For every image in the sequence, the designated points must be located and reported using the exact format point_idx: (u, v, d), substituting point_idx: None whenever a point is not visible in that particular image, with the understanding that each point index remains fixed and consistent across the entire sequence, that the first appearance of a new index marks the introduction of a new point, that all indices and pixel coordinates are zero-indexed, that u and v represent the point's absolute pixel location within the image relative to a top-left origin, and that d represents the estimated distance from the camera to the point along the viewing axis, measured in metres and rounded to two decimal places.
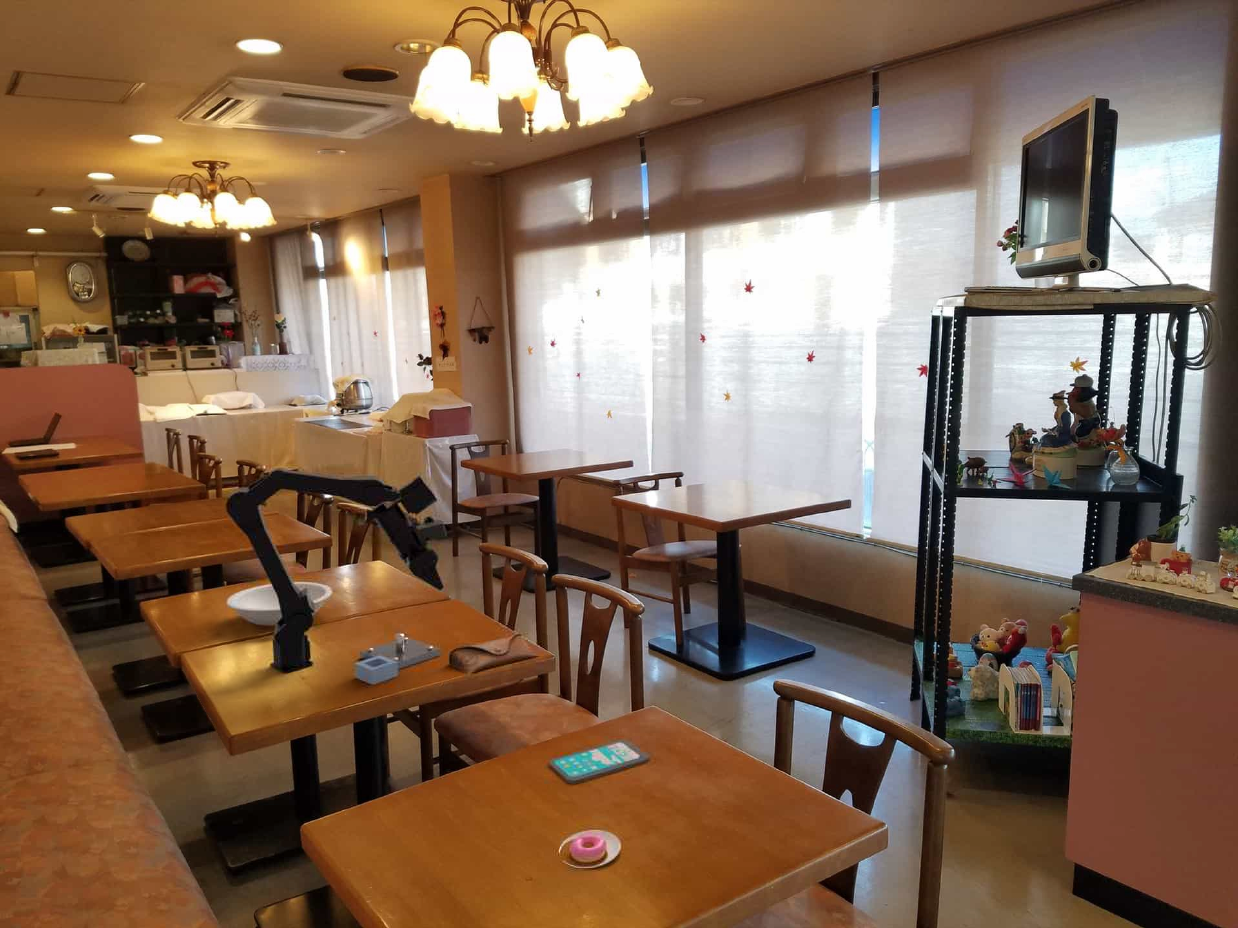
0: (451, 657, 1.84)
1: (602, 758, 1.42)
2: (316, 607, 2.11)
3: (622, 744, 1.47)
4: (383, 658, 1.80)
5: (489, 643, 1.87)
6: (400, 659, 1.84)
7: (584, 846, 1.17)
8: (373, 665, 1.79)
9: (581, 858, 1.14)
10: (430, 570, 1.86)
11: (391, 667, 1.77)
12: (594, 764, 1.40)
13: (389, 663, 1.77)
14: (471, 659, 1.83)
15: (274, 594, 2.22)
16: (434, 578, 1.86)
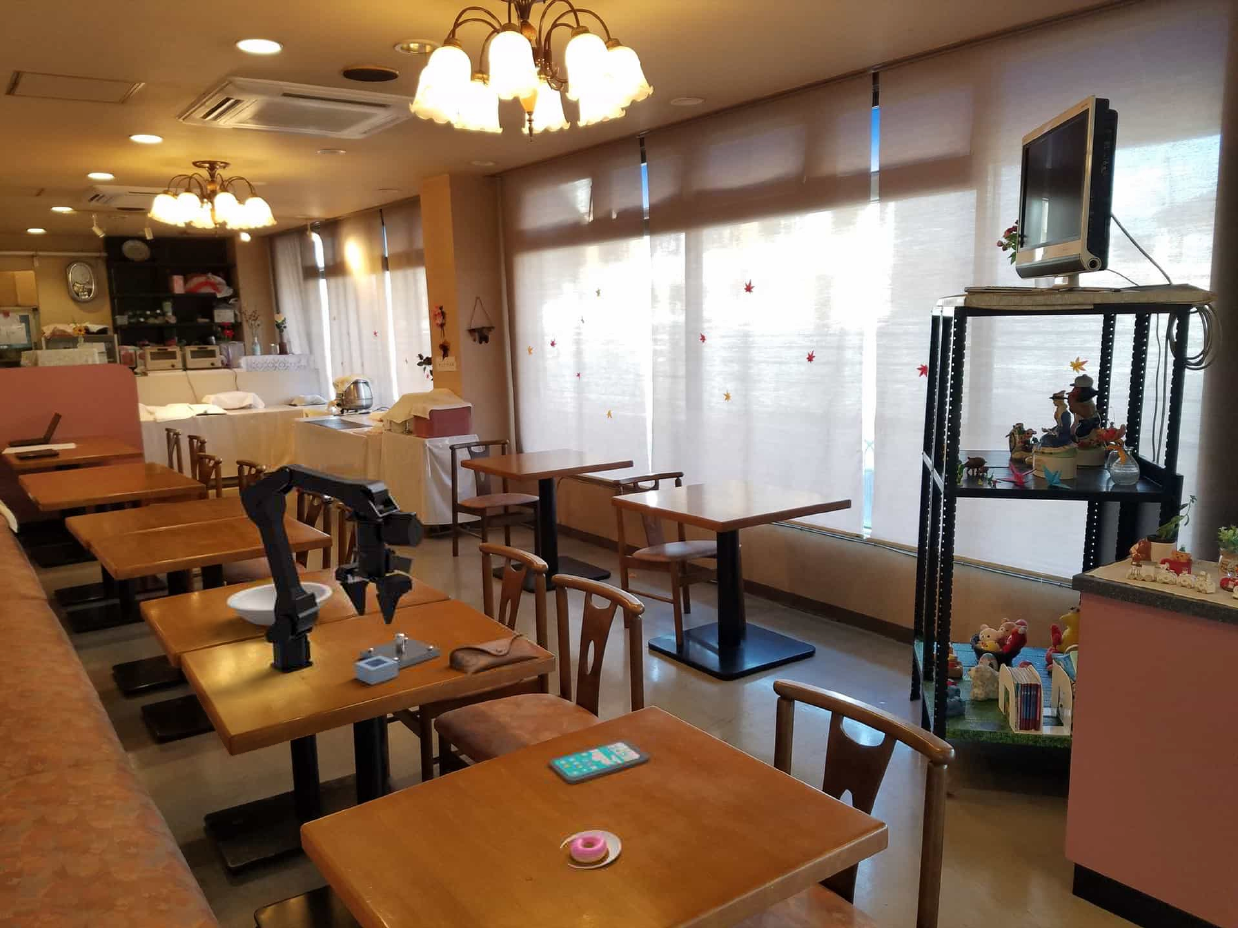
0: (452, 657, 1.84)
1: (602, 758, 1.42)
2: None
3: (622, 744, 1.47)
4: (383, 658, 1.80)
5: (490, 643, 1.87)
6: (400, 659, 1.84)
7: (584, 846, 1.17)
8: (373, 665, 1.79)
9: (581, 858, 1.14)
10: (392, 599, 1.73)
11: (391, 667, 1.77)
12: (594, 764, 1.40)
13: (389, 663, 1.77)
14: (471, 659, 1.82)
15: (274, 594, 2.22)
16: (391, 609, 1.73)
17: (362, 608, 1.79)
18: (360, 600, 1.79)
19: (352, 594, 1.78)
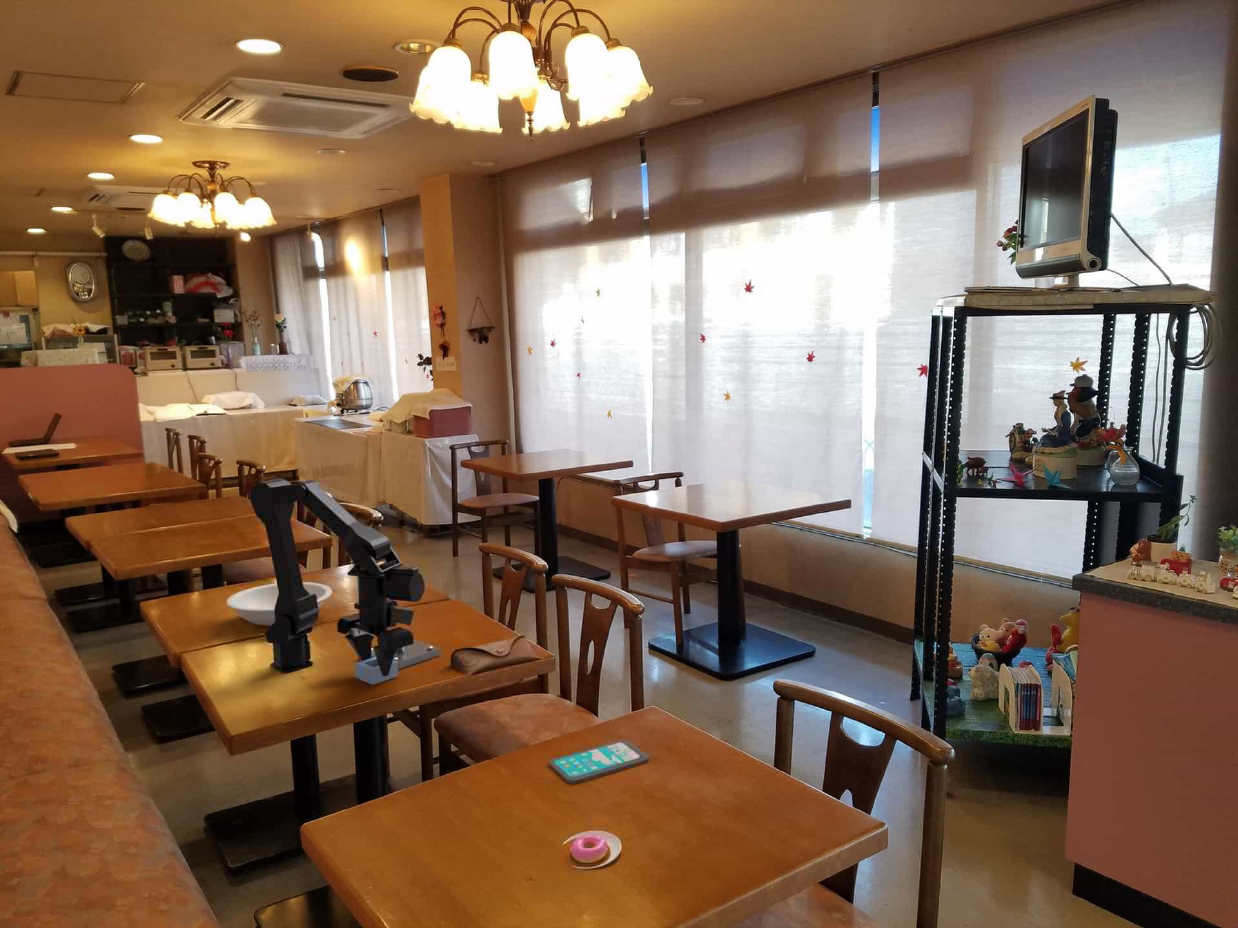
0: (453, 657, 1.84)
1: (602, 758, 1.42)
2: None
3: (622, 744, 1.47)
4: None
5: (491, 644, 1.87)
6: (400, 659, 1.84)
7: (585, 847, 1.17)
8: (373, 665, 1.79)
9: (582, 859, 1.14)
10: (389, 651, 1.75)
11: (391, 667, 1.77)
12: (594, 764, 1.40)
13: None
14: (472, 660, 1.82)
15: (274, 594, 2.22)
16: (388, 661, 1.75)
17: None
18: (366, 653, 1.80)
19: (358, 648, 1.78)
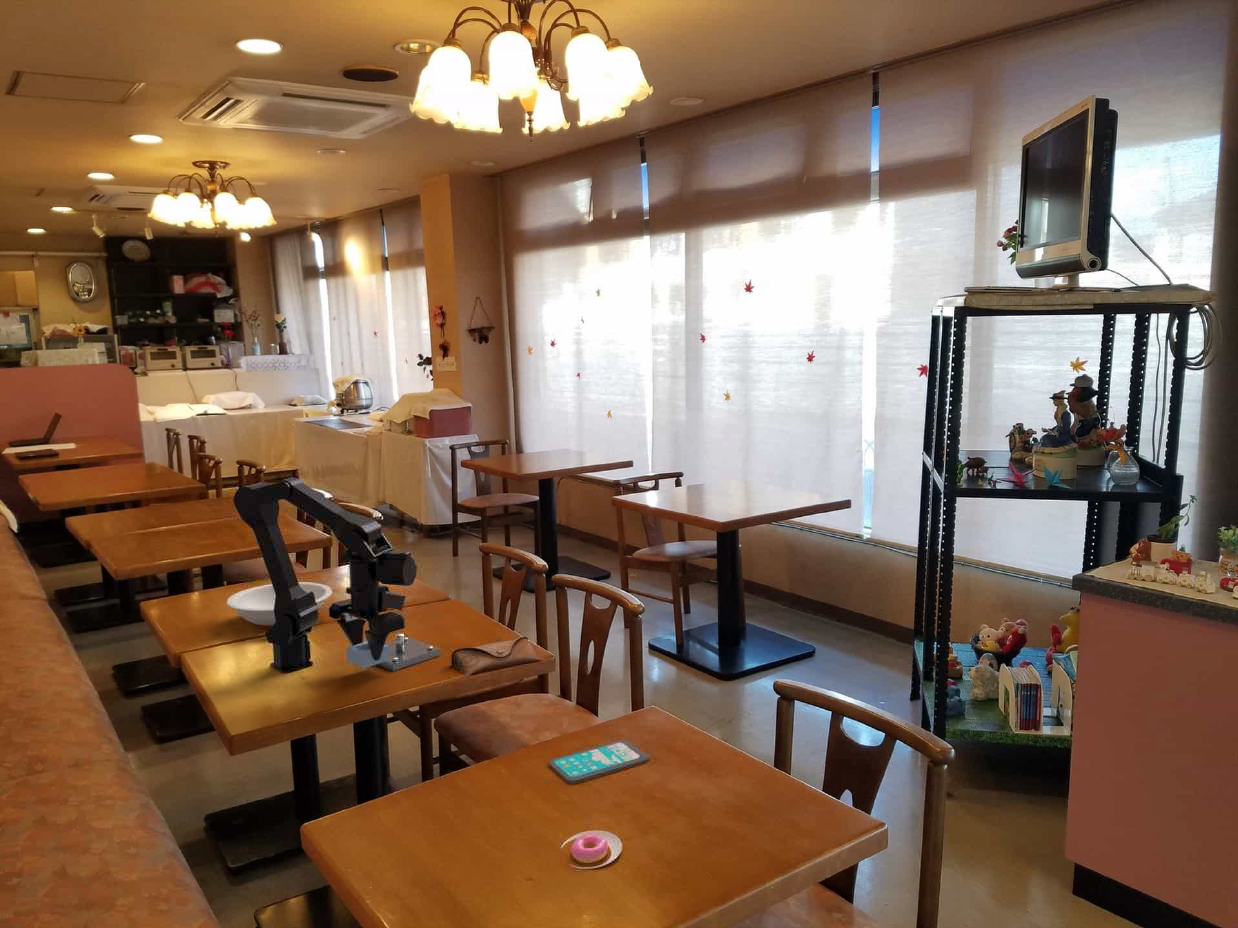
0: (453, 657, 1.84)
1: (602, 758, 1.42)
2: None
3: (623, 744, 1.47)
4: None
5: (492, 645, 1.86)
6: (400, 659, 1.84)
7: (585, 846, 1.17)
8: (365, 649, 1.81)
9: (582, 858, 1.14)
10: (380, 636, 1.76)
11: (382, 651, 1.79)
12: (594, 764, 1.40)
13: None
14: (471, 660, 1.82)
15: (274, 594, 2.22)
16: (379, 646, 1.76)
17: None
18: (358, 637, 1.81)
19: (349, 632, 1.80)
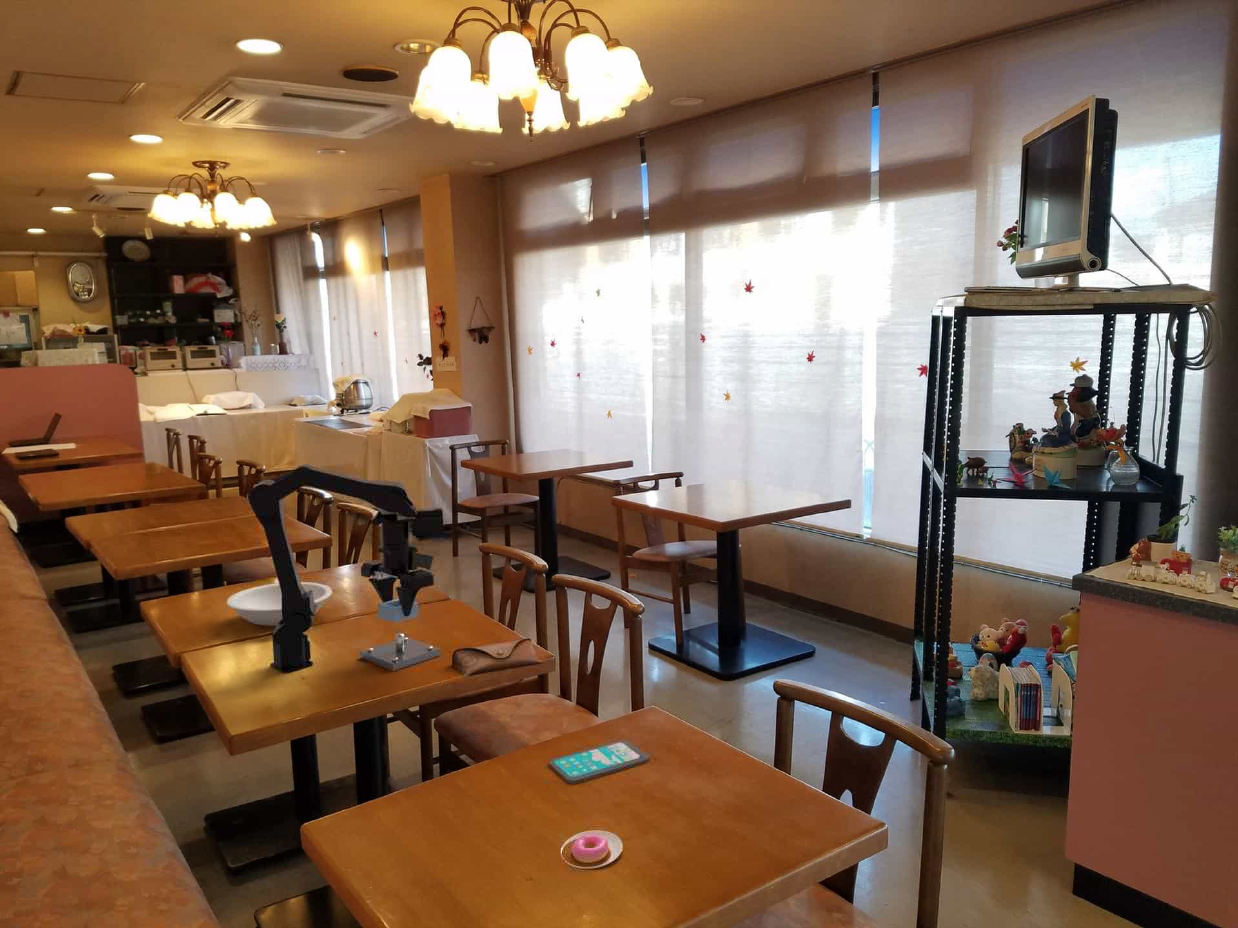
0: (454, 657, 1.84)
1: (602, 758, 1.42)
2: None
3: (623, 744, 1.47)
4: None
5: (493, 646, 1.86)
6: (400, 659, 1.84)
7: (586, 846, 1.17)
8: (395, 606, 1.90)
9: (583, 858, 1.14)
10: (410, 593, 1.85)
11: (412, 607, 1.87)
12: (594, 764, 1.40)
13: None
14: (471, 660, 1.82)
15: (274, 594, 2.22)
16: (409, 602, 1.85)
17: None
18: (388, 595, 1.90)
19: (381, 590, 1.88)
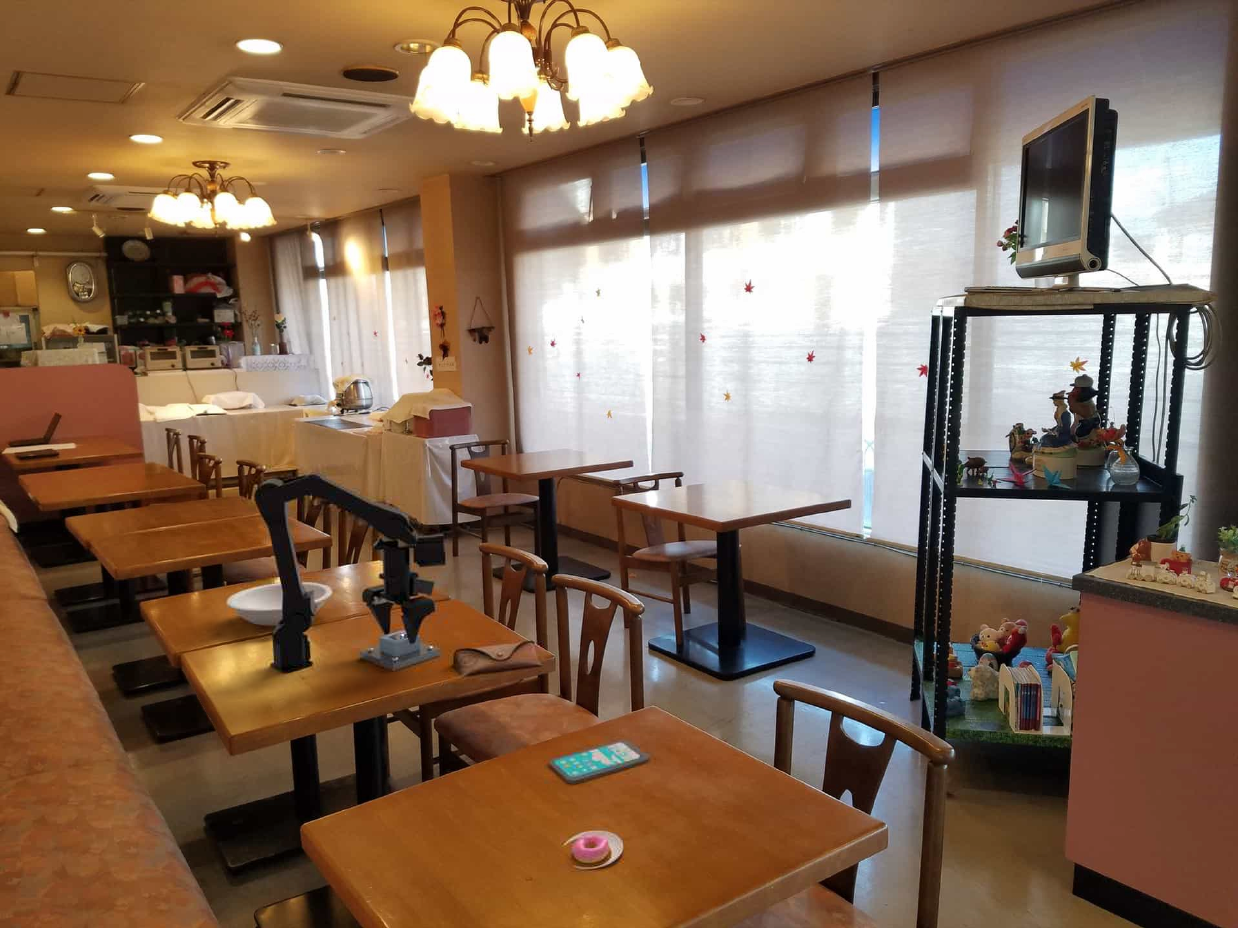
0: (454, 657, 1.84)
1: (602, 758, 1.42)
2: None
3: (623, 744, 1.47)
4: None
5: (494, 647, 1.85)
6: (400, 659, 1.84)
7: (586, 847, 1.17)
8: None
9: (583, 859, 1.14)
10: (416, 620, 1.85)
11: None
12: (594, 764, 1.40)
13: None
14: (470, 661, 1.81)
15: (274, 594, 2.22)
16: (415, 630, 1.85)
17: (387, 628, 1.92)
18: (386, 620, 1.92)
19: (378, 615, 1.90)
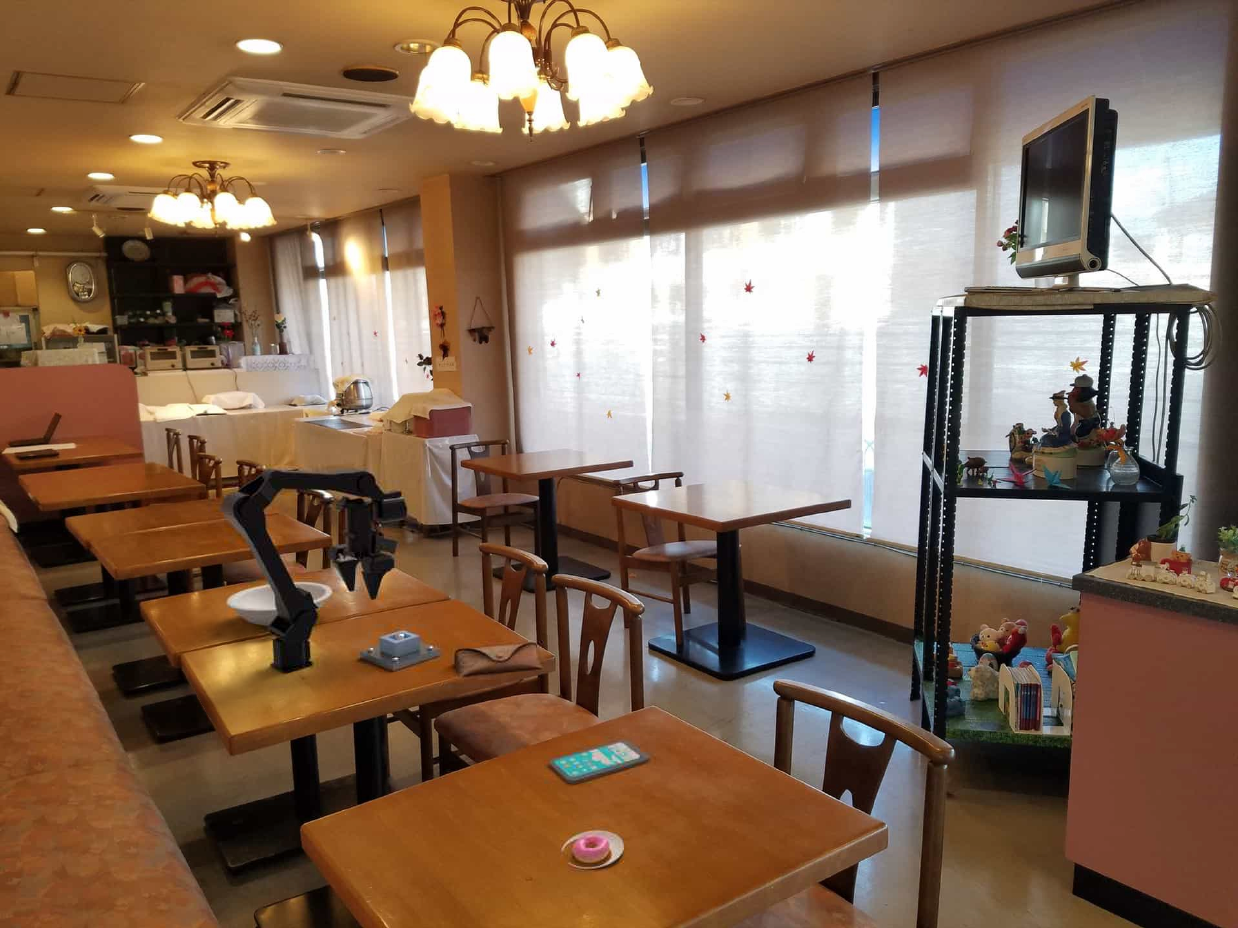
0: (455, 656, 1.84)
1: (602, 758, 1.42)
2: None
3: (623, 744, 1.47)
4: (406, 633, 1.91)
5: (494, 648, 1.84)
6: (400, 659, 1.84)
7: (587, 846, 1.17)
8: None
9: (584, 858, 1.14)
10: (376, 576, 1.90)
11: (414, 641, 1.88)
12: (594, 764, 1.40)
13: (412, 637, 1.88)
14: (469, 661, 1.81)
15: None
16: (375, 586, 1.90)
17: (352, 585, 1.97)
18: (350, 577, 1.97)
19: (343, 572, 1.96)
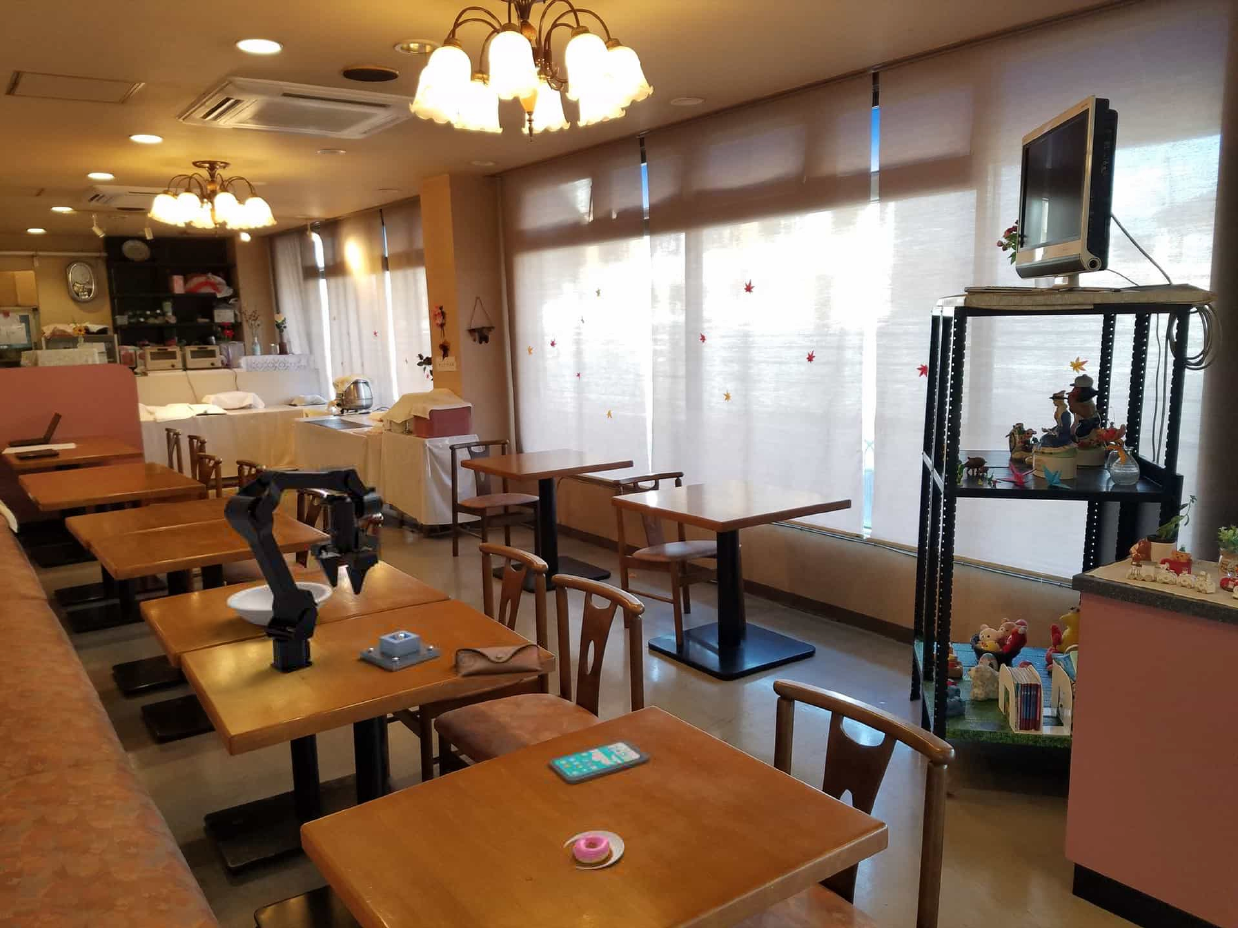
0: (456, 656, 1.84)
1: (602, 758, 1.42)
2: (316, 607, 2.11)
3: (623, 744, 1.47)
4: (406, 633, 1.91)
5: (495, 649, 1.84)
6: (400, 659, 1.84)
7: (587, 847, 1.17)
8: None
9: (584, 859, 1.14)
10: (360, 572, 1.93)
11: (414, 641, 1.88)
12: (594, 764, 1.40)
13: (412, 637, 1.88)
14: (469, 661, 1.81)
15: None
16: (359, 581, 1.93)
17: (335, 581, 2.00)
18: (333, 573, 2.00)
19: (325, 568, 1.99)
